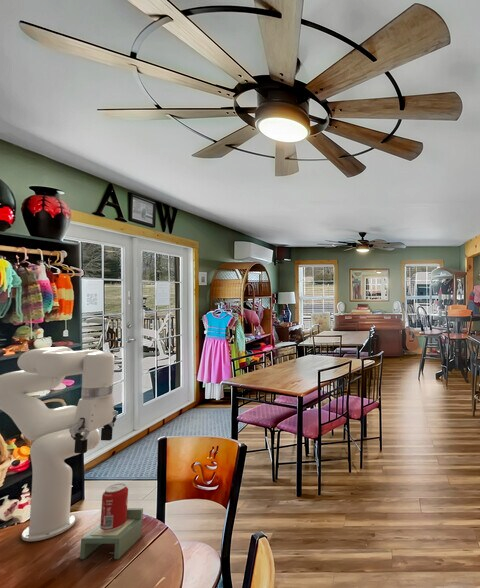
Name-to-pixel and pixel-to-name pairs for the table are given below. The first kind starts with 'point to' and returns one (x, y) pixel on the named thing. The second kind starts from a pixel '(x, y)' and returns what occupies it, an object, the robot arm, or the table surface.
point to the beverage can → (114, 507)
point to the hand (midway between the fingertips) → (94, 446)
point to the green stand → (115, 535)
